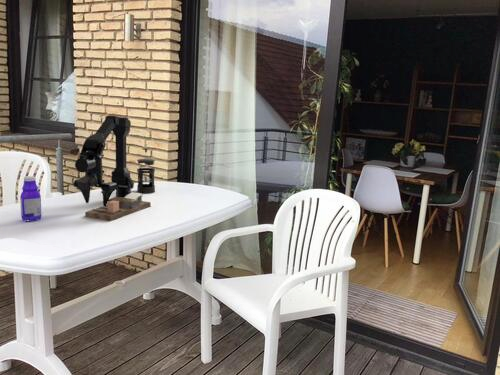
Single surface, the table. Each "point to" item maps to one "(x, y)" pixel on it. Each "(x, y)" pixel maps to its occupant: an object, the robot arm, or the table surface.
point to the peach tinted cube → (113, 206)
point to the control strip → (124, 210)
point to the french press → (146, 187)
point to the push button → (123, 199)
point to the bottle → (30, 200)
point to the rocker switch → (133, 195)
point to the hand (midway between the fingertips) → (96, 204)
